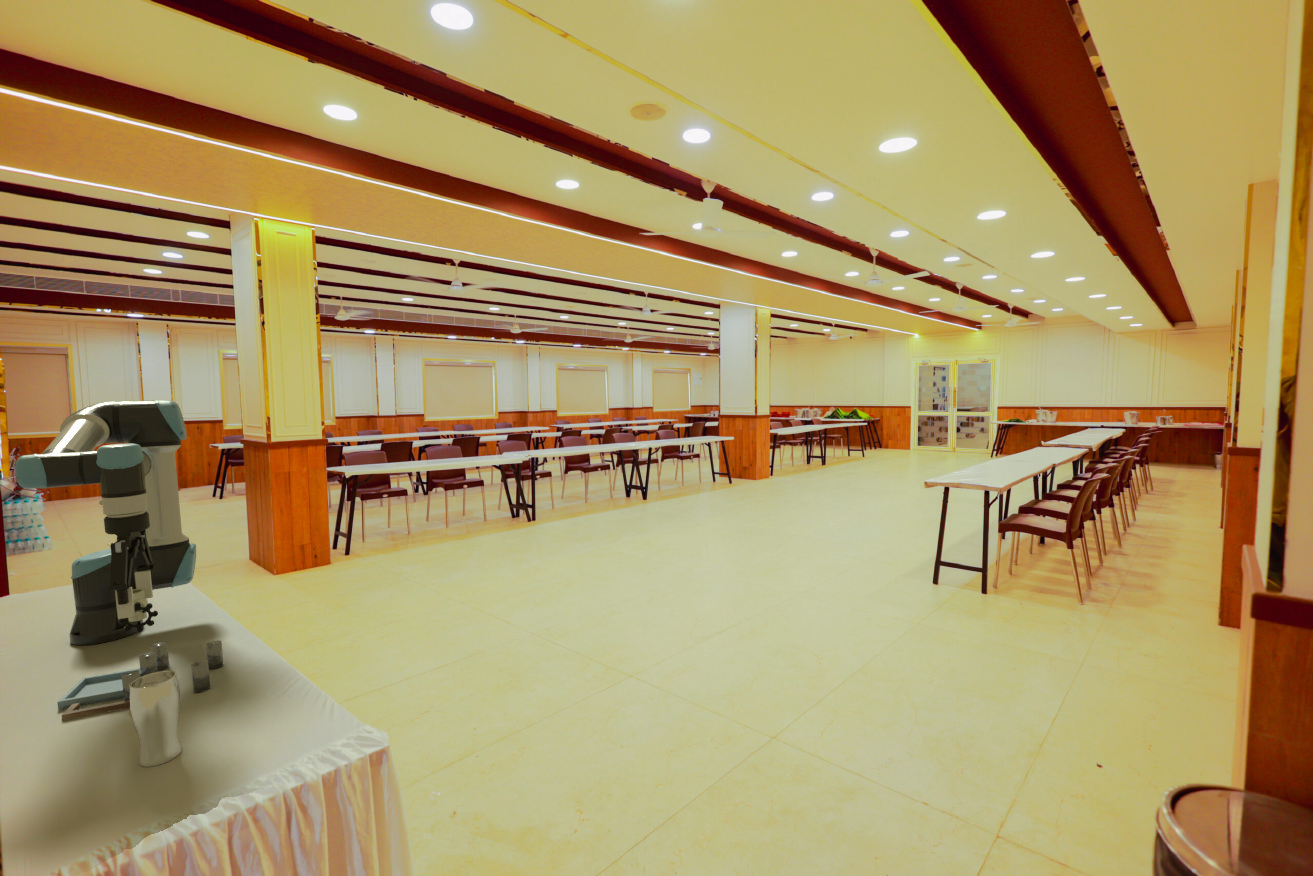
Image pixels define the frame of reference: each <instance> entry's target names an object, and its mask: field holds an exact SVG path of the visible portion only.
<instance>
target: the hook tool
mask: <svg viewBox="0 0 1313 876" xmlns="http://www.w3.org/2000/svg"><path fill="white" fill-rule="evenodd" d="M125 709H130V700H127V701H124V700H123V701H118V702H113V703H107V704H106V703H105V704H102V705H101V704H100V705H95V706H90V707H85V708H81V706H80V703H76V704H72V705H71V706H70V707H69V708H66V710H65V711H63V713H62V714H61V721H66V720H67V721H68V720H72V719H78V718H83V717H88V716H93V715H97V714H98V715H99V714H103V713H109V712H115V711H120V710H125Z"/></svg>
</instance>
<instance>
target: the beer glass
mask: <svg viewBox="0 0 1313 876" xmlns="http://www.w3.org/2000/svg"><path fill="white" fill-rule="evenodd" d="M177 677H178V676H177V673H176V671H174V670H162V671H158V672H154V673H150V674H147V675H144V676H141V677H139V678H137V679H135V680H134V681H132V682H131V683H130V685H129V687H130V695H129V696H130V708H129V710H130V716H131V719H132V720H131V721H132V724H133V726H134V728H135V732H136V733H137V736H138V737H137V738H138V739H139V745H140V750H139V758H138V759H139V761H138V765H140V767H143V768H150V767H157V766H160V765H162V764H165V763H166V764H167V763H168V762H170V761H172V760H174V759H175V758H177V757H178V756H179V755H180V754H181V753H182V749H183V748H182V744H181V742H180V739H179V736H178V735H179V734H178V725H179V724H178V723H179V716H180V705H181V697H180V696H181V695H180V687H179V683H178V678H177Z"/></svg>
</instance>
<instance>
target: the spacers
mask: <svg viewBox="0 0 1313 876" xmlns="http://www.w3.org/2000/svg"><path fill="white" fill-rule="evenodd" d="M205 647H206V658H207V659H206V660H199V661H196V662H194V663H192V664H191V677H192V686H193V687H192V689H193V693H195V694H196V693H197V694H198V693H204V692H206V691H208V690H210V689H211V679H210V678H211V677H210V670H211V671H212V670H217V669H220V668H222V667H223V666H224V656H223V654H224V653H223V643H222V640H220V639H218V640H212V641H209V642H207V643H205ZM168 648H169V647H168V642H167V641H161V642H157V643H154V644H152V645H151V646H150V650H151V652H147V653H143V654H141V655H140V656H138V660H139V668H140V671H141V676H144V675H147V674H150V673H154V672H159V671H166V670H167V669H169V668H170V661H169V660H170V658H169V650H168ZM140 671H131V672H128V673H125V674H123V675H122V685H123V694H124V698H123V701H127V700H130V696H129V695H130V687H129V685H130V683H131V682H132V681H134V680H135V679H137V678H139V677H140Z"/></svg>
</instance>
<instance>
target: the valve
mask: <svg viewBox="0 0 1313 876" xmlns="http://www.w3.org/2000/svg"><path fill="white" fill-rule="evenodd" d="M133 599H134V609H135V616H134V617H129V618H122V619H119V620H118V622H119V623H120V624H123V623H126V624H127V626H125V627H124V630H125V631H129V630H131V628H133V627H134V628H137V629H136V631H137V632H136V633H141V632H142V631H144V626H146V625H147V626H149V627H152V626H153V625H155V621H154V620H152V618H154V617H155V618H156V617H157V616H158V615H159V612H158V610H154V611H151V609H152V608H153V603H150V602H148V598H145V592H144V589H134V590H133ZM147 614H148V615H147ZM142 619H143V620H145V621H143V623H141V622H140V620H142ZM133 621H137V624H132V623H130V622H133Z"/></svg>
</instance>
